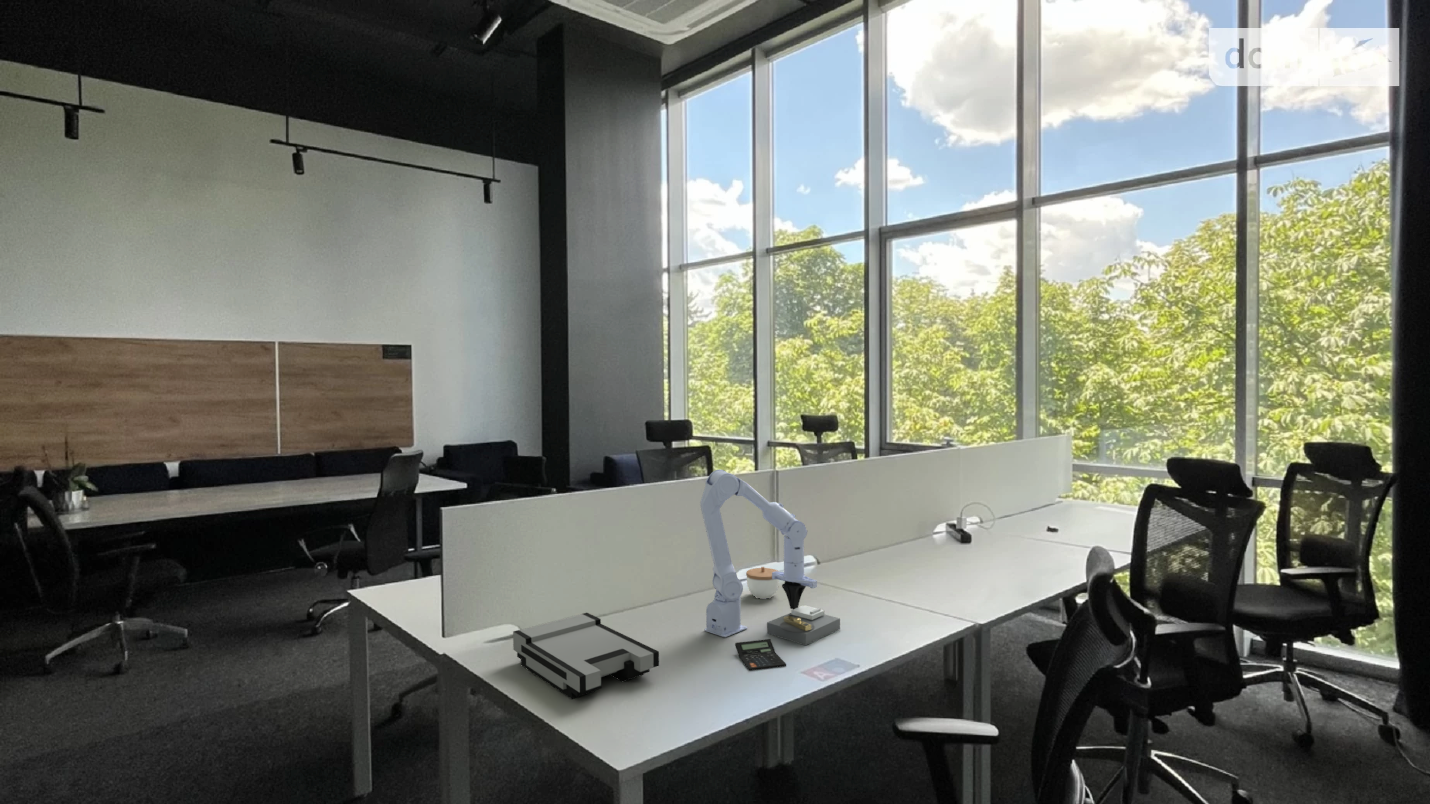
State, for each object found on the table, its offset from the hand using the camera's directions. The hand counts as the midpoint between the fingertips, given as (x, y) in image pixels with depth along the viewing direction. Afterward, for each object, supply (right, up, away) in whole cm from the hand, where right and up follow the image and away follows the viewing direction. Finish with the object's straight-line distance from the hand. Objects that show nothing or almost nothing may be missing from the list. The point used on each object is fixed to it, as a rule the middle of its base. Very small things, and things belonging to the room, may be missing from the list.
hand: (794, 608), depth 199 cm
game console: (-54, -6, -33) cm, 63 cm away
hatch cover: (+3, -1, -3) cm, 5 cm away
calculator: (-11, -5, -26) cm, 29 cm away
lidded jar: (-7, -4, +25) cm, 26 cm away
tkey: (-1, -1, -12) cm, 12 cm away
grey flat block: (+2, -4, -7) cm, 9 cm away
